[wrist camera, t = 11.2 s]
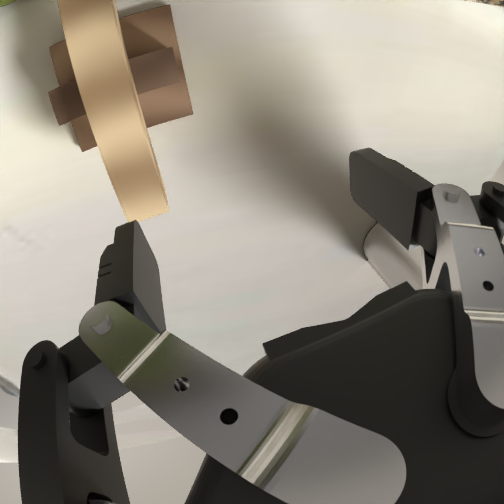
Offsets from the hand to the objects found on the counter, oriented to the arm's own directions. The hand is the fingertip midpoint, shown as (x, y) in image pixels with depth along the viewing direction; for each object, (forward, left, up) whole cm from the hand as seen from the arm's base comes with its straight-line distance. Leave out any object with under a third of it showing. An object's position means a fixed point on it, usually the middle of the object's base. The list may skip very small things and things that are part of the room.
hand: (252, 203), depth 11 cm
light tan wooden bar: (+4, +5, -15) cm, 17 cm away
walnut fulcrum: (+4, +5, -23) cm, 24 cm away
